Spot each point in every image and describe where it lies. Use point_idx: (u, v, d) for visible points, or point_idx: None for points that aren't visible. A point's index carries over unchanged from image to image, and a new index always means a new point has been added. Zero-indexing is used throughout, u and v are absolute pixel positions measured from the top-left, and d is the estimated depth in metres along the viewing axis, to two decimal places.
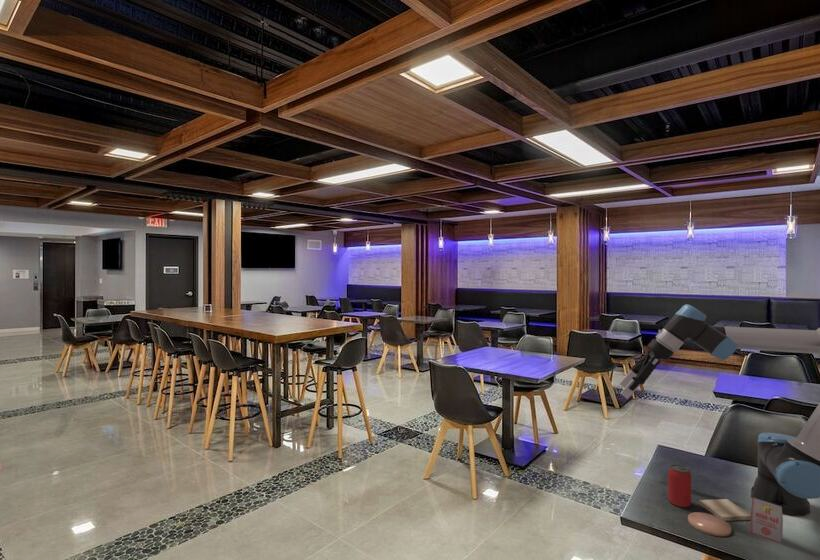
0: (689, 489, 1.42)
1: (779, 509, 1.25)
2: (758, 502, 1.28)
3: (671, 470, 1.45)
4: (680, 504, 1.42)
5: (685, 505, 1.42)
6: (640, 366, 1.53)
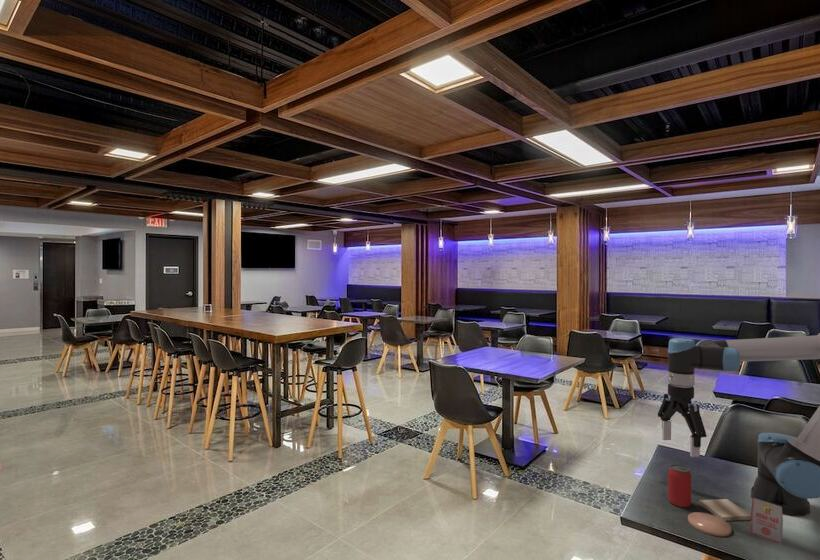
0: (689, 489, 1.42)
1: (779, 509, 1.25)
2: (758, 502, 1.28)
3: (671, 470, 1.45)
4: (680, 504, 1.42)
5: (685, 505, 1.42)
6: (670, 413, 1.49)
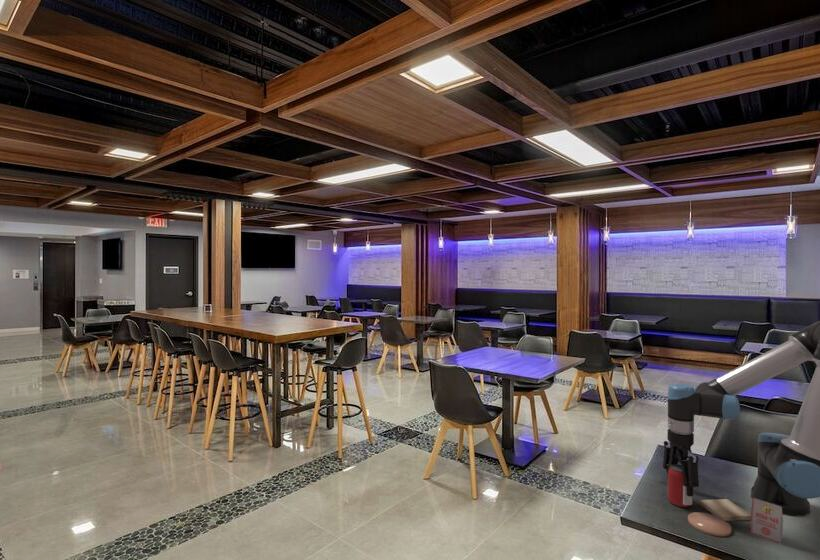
0: None
1: (779, 509, 1.25)
2: (758, 502, 1.28)
3: (671, 470, 1.45)
4: (680, 504, 1.42)
5: (685, 505, 1.42)
6: (673, 463, 1.48)
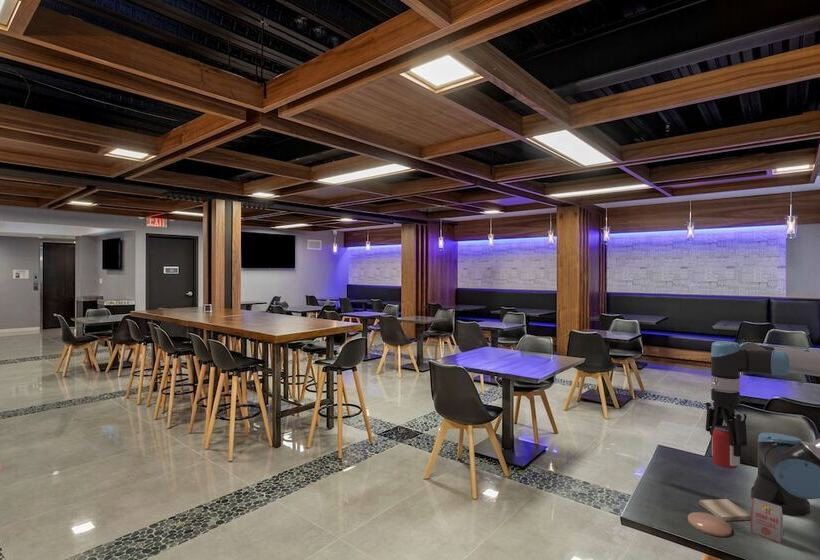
0: None
1: (779, 509, 1.25)
2: (758, 502, 1.28)
3: (716, 431, 1.40)
4: (727, 465, 1.37)
5: (732, 466, 1.36)
6: (718, 424, 1.42)
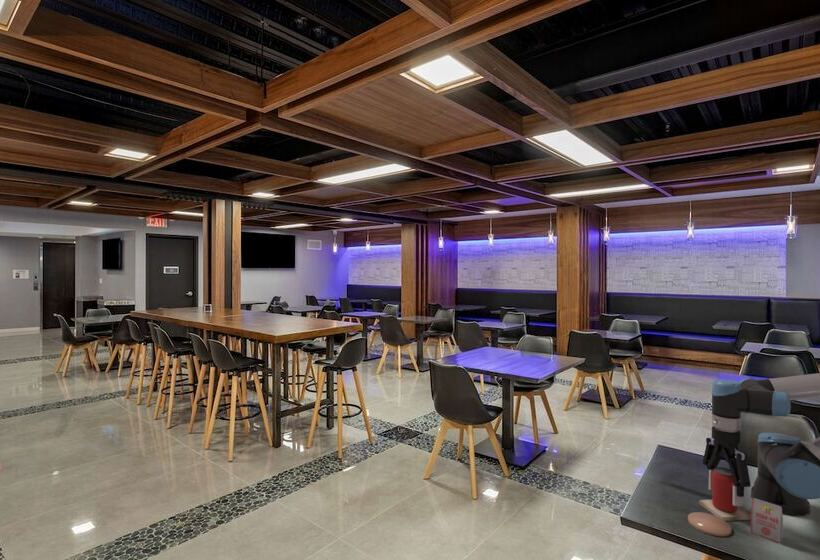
0: None
1: (779, 509, 1.25)
2: (758, 502, 1.28)
3: (716, 473, 1.40)
4: (726, 509, 1.37)
5: (731, 510, 1.37)
6: (716, 460, 1.43)
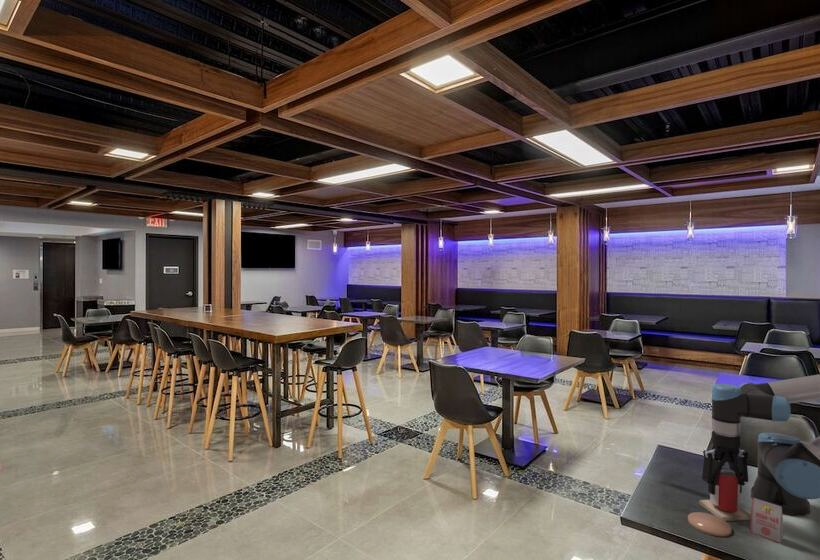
0: (736, 493, 1.37)
1: (779, 509, 1.25)
2: (758, 502, 1.28)
3: None
4: (726, 509, 1.37)
5: (732, 510, 1.37)
6: (731, 469, 1.40)
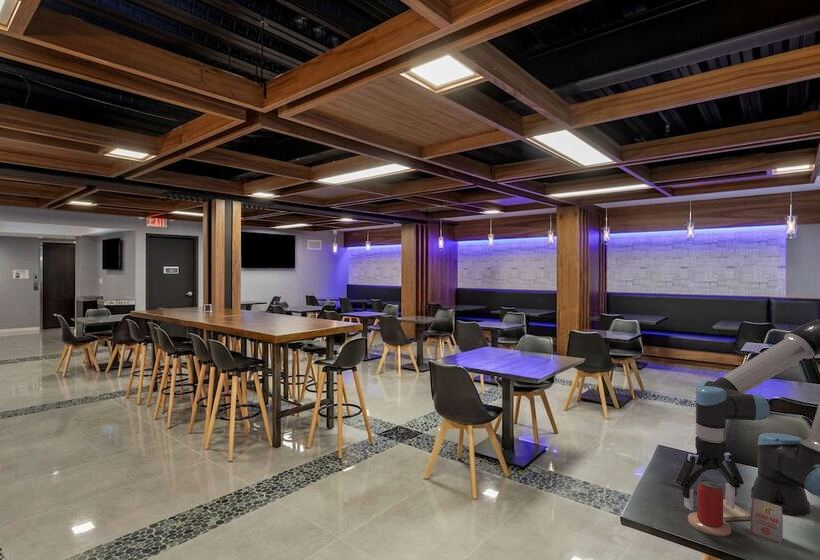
0: (721, 507, 1.29)
1: (779, 509, 1.25)
2: (758, 502, 1.28)
3: (701, 486, 1.32)
4: (711, 524, 1.29)
5: (717, 525, 1.29)
6: (722, 473, 1.33)
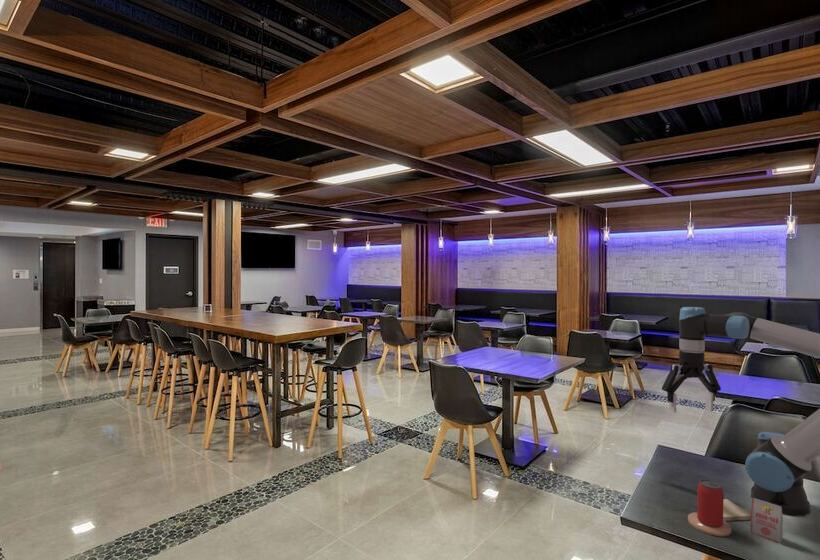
0: (721, 507, 1.29)
1: (779, 509, 1.25)
2: (758, 502, 1.28)
3: (701, 486, 1.32)
4: (711, 524, 1.29)
5: (717, 525, 1.29)
6: (702, 382, 1.53)
